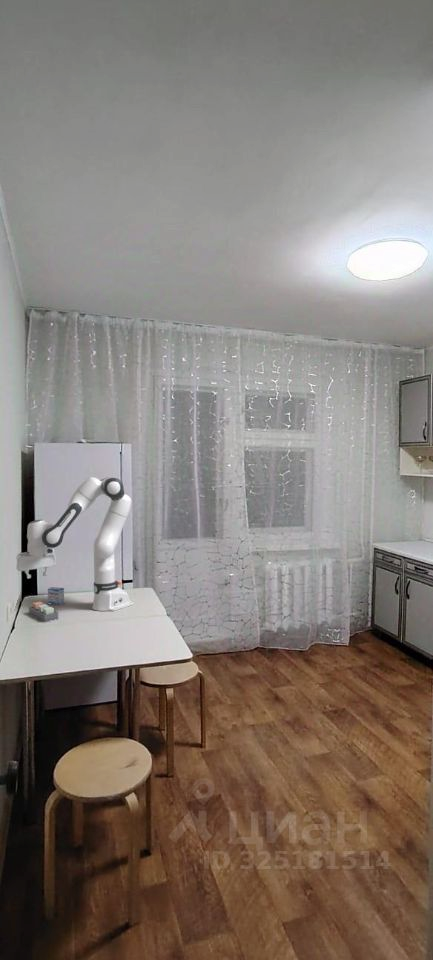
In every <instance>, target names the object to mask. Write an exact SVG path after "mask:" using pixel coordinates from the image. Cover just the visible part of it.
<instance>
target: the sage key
mask: <svg viewBox="0 0 433 960" xmlns="http://www.w3.org/2000/svg"><path fill="white" fill-rule="evenodd" d="M54 610H55V608H54V607H52V606H49V607H47V608H43V614H45V615H47V614H51V613H54Z"/></svg>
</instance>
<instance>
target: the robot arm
mask: <svg viewBox="0 0 433 960" xmlns="http://www.w3.org/2000/svg"><path fill="white" fill-rule="evenodd" d="M101 495H105V496H106V497H108V498H109V499H110V505H109V506H108V509H107V512H106V514H105V516H104V519H103V520H102V521H103V522H102V524H101V526H100V529H99V533H98V535H97V537H96V538H95V540H94V541H93V571H94V573H93V575H94V577H93V578H94V581H93V593H94V595H93V602H92V607H91V609H92V610H94V611H99V612H100V611H101V612H103V611H111V612H115V611H118V610H121V609H124V608H127V607H130V606H133V605H134V601H132V600H131V599H130V596H129V594H128V592H127V591H126V590H124V589H122V588H121V587H119V586H122V581H120V580H116V563H115V561H116V560H115V551H116V547H117V545H118V542H119V539H120V536H121V533H122V531H123V528H124V527H125V523H126V521H127V519H128V516H129V513H130V512H131V511H130V510H131V507H132V499H131V497H130V496H129V495H128V494H126V493H125V488H124V484H123V481H122V480H121V479H120V478H118V477H116V476H108V477H104V478H103V479H99V478H97V477H95V476H92V477H91V476H90V477H88V478H87V479H85V481H83V482H82V483H81V484H80V485H79V486H78V488H76V490H75V491H74V493H73V494H72V496H71V498H70V499H69V501H68V505H67V508H66V510H65V511H64V513H63V514H62V515H61V516H60V518H59V519H58V520H57V522H56V523H55V524H51V523H49V522H47V521H45V520H44V519H36V520H33V521H30V522H29V523H28V525H27V528H26V529H27V534H26V539H27V544H26V545H27V551H25V552H19V553H18V554H17V555H16V570H17V571H18V572H24V573H25V575H26V578H27V579H28V580H29V579H32V574H31V573H30V574H29V572H30V570H31V571H32V570H39V569H45V570H44V572H42V576H43V577H46V576H48V571H49V570H50V568H51V567H56V565H57V556H56V554H55V552H56V551H55V549H54V548H57V547H59V546H60V545H61V544H62V542H63V540H64V536H65V533H66V532H67V530H68V529H69V528H70V527H71V526H72V524H73V522H74V521H75V520H76V519H77V518H78V517H80V516H81V515H82V514H83V513H84V512H86V510H88V509H89V508H90V507H91V506H92V505H93V504H94V502H95V501H96V499H97V498H98V497H100V496H101Z"/></svg>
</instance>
